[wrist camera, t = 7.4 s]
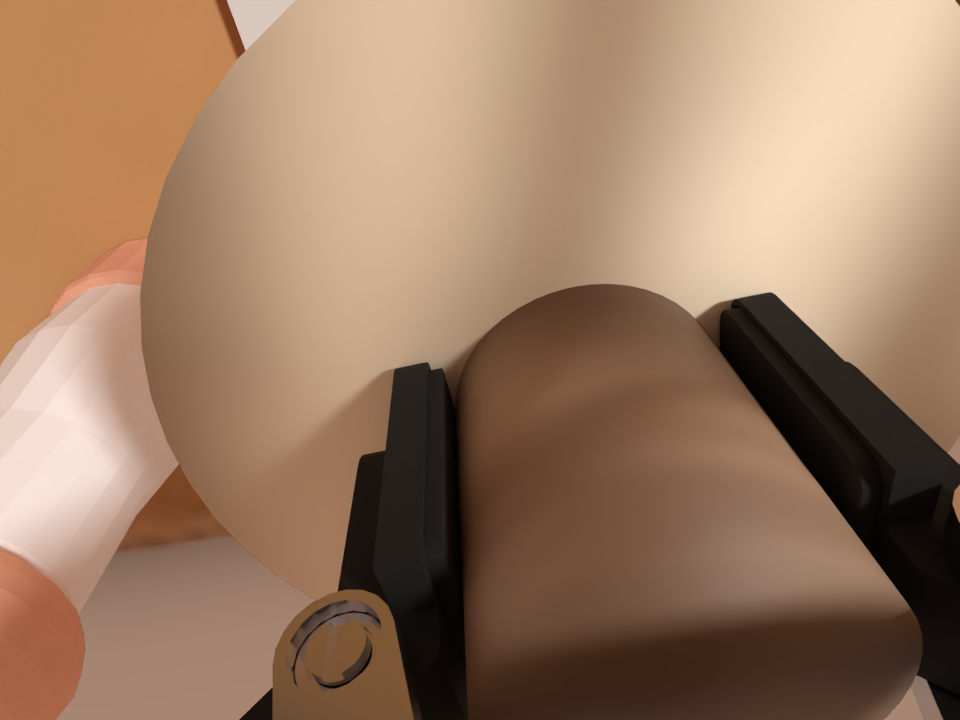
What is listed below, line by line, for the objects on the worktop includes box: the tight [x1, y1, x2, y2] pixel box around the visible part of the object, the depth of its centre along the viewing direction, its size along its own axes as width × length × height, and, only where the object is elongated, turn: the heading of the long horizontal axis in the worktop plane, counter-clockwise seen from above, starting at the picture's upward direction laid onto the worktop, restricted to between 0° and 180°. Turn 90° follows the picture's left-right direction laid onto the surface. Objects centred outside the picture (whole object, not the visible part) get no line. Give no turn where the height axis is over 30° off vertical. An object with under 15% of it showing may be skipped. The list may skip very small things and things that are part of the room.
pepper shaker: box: [0, 238, 179, 720], centre depth 20 cm, size 7×7×19 cm
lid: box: [140, 0, 960, 720], centre depth 9 cm, size 14×14×6 cm
